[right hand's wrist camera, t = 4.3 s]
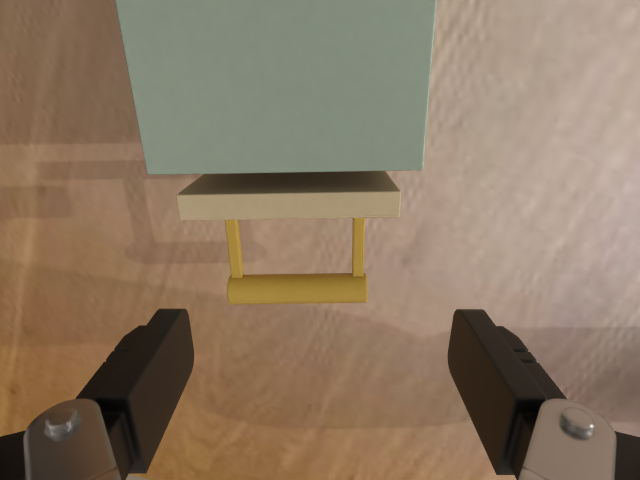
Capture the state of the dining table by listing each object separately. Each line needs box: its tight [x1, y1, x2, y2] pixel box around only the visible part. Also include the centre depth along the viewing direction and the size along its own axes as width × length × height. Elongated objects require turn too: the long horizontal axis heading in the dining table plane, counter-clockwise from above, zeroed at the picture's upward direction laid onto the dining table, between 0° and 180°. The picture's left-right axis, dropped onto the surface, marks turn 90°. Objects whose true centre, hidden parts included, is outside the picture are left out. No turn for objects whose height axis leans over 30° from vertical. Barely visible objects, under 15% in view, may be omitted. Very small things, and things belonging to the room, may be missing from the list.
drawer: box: [176, 171, 401, 304], centre depth 19 cm, size 22×10×8 cm, turn 1°
